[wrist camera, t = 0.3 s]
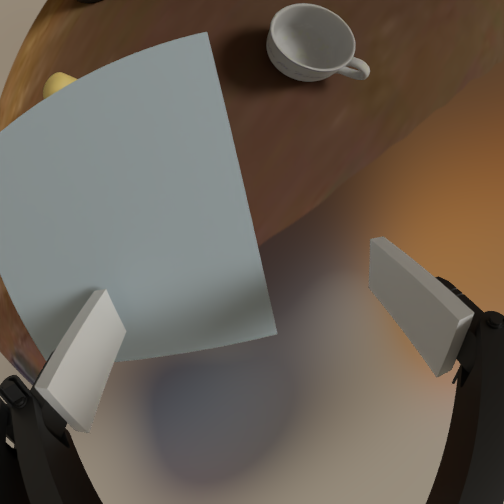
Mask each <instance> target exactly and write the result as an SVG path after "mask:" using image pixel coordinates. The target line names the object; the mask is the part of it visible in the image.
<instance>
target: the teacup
mask: <svg viewBox="0 0 504 504" xmlns="http://www.w3.org/2000/svg"><path fill="white" fill-rule="evenodd" d="M266 46H267V53H268V56H269V58H270V60H271V62H272V63H273V65H274V66H275V67H276V68H277V69H278V70H279V71H280V72H282V73H283V74H285V75H286V76H288V77H290V78H293V79H296V80H299V81H305V82H314V81H319V80H323V79H325V78H327V77H329V76H331V75H332V74H334V73H339V74H342V75H345V76H347V77H350V78H353V79H357V80H364V79H366V78H367V77H368V75H369V73H370V69H369V67H368V65H367V64H366V63H365V62H364V61H362V60H360V59H358V58H355V57H353V56H354V52H355V39H354V36H353V33H352V31H351V30H350V28H349V27H348V25H347V24H346V23H345V22H344V21H343V20H342V19H341V18H340V17H339V16H338V15H336V14H335V13H333V12H332V11H330V10H328V9H326V8H323V7H320V6H317V5H313V4H293V5H290V6H287V7H285V8H283V9H281V10H280V11H279V12H277V13H276V14H275V16H274V17H273V19H272V21H271V24H270V30H269V33H268V37H267V45H266ZM345 66H352V67H355V68H357V69H359V70H360V71H358V70H354V69H351V68H348V67H345Z"/></svg>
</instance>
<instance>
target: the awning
mask: <svg viewBox="0 0 504 504" xmlns="http://www.w3.org/2000/svg"><path fill="white" fill-rule="evenodd" d="M0 275H1V277H2V279H3V282H4V284H5V286H6V289H7V291H8V293H9V295H10V297H11V300H12V302H13V304H14V306H15V308H16V310H17V312H18V314H19V316H20V317H21V319H22V321H23V323H24V325H25V327H26V329H27V330H28V332H29V334H30V335H31V337H32V339H33V341H34V342H35V344H36V345H37V347H38V349H39V350H40V352H41V353H42V355H43V357H44V358H45V360H46V361H47V360H48V358H49V356H50V355H51V353H52V352H53V351H54V350H55V349H56V348H57V346H58V345H59V343H60V341H61V340H62V338H63V337H64V335H65V333H66V332H67V330H68V329H69V327H70V326H71V324H72V323H73V321H74V320H75V318H76V317H77V315H78V314H79V312H80V311H81V309H82V308H83V306H84V305H85V304H86V302H87V301H88V299H89V298H90V296H91V295H92V294H93V292H94V291H96V290H102V289H106V290H107V292H108V294H109V296H110V299H111V301H112V303H113V305H114V307H115V309H116V311H117V313H118V315H119V317H120V319H121V321H122V323H123V325H124V327H125V329H126V331H127V332H126V334H125V336H124V339H123V341H122V344H121V346H120V348H119V351H118V353H117V356H116V358H115V361H114V362H120V361H129V360H138V359H146V358H154V357H161V356H167V355H175V354H181V353H188V352H194V351H199V350H204V349H210V348H216V347H221V346H225V345H231V344H236V343H241V342H245V341H250V340H254V339H259V338H263V337H267V336H271V335H276V334H277V330H276V326H275V321H274V317H273V312H272V308H271V303H270V299H269V294H268V290H267V285H266V281H265V276H264V272H263V268H262V263H261V259H260V255H259V250H258V246H257V241H256V237H255V232H254V228H253V224H252V219H251V215H250V211H249V206H248V202H247V198H246V193H245V189H244V185H243V180H242V176H241V172H240V168H239V163H238V159H237V155H236V150H235V146H234V142H233V138H232V133H231V129H230V125H229V121H228V117H227V112H226V108H225V104H224V100H223V96H222V91H221V87H220V83H219V79H218V75H217V71H216V67H215V62H214V58H213V54H212V50H211V46H210V42H209V38H208V34H207V32H204V33H199V34H195V35H191V36H187V37H183V38H180V39H176V40H173V41H169V42H166V43H163V44H160V45H157V46H154V47H151V48H148V49H145V50H142V51H140V52H137V53H134V54H132V55H129V56H127V57H124V58H122V59H120V60H117V61H115V62H113V63H110V64H108V65H106V66H104V67H102V68H100V69H97V70H95V71H93V72H91V73H89V74H87V75H85V76H84V77H82V78H80V79H78V80H76V81H74V82H72V83H71V84H69V85H67V86H65V87H64V88H62V89H60V90H59V91H57V92H55V93H54V94H52V95H51V96H49V97H47V98H46V99H44V100H43V101H41V102H40V103H38V104H37V105H35V106H34V107H32V108H31V109H30V110H28V111H27V112H25V113H24V114H23V115H21V116H20V117H19V118H17V119H16V120H15V121H14V122H12V123H11V124H10V125H8V126H7V127H6V128H5V129H4V130H2V131H1V132H0Z"/></svg>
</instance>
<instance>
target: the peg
mask: <svg viewBox="0 0 504 504" xmlns="http://www.w3.org/2000/svg"><path fill="white" fill-rule="evenodd" d="M76 80H78V79H76V78H73V77H71V76H69V75H66V74H64V73H61V72H58V73H55V74H53V75H52V76H51V77H50V78H49V79H48V80H47V82H46V84H45V86H44V89H43V97H44V99H46V98H47V97H49V96H51V95H52V94H54V93H55V92H57V91H59V90H60V89H62V88H64V87H65V86H67V85H69V84H71V83H72V82H74V81H76Z"/></svg>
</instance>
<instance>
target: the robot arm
mask: <svg viewBox="0 0 504 504" xmlns="http://www.w3.org/2000/svg"><path fill="white" fill-rule="evenodd" d="M77 1H79V2H81V3H93V2H97V1H101V0H77ZM369 289H370V290H371V291H372V292H373V293H374V295H375V296H376V297H377V298H378V300H379V301H380V302H381V304H382V305H383V306H384V307H385V308H386V310H387V311H388V312H389V314H390V315H391V316H392V317H393V319H394V320H395V321H396V323H397V324H398V325H399V326H400V328H401V329H402V330H403V332H404V333H405V334H406V336H407V337H408V338H409V340H410V341H411V342H412V344H413V345H414V346H415V348H416V349H417V350H418V352H419V353H420V355H421V356H422V357H423V359H424V360H425V362H426V363H427V364H428V366H429V367H430V368H431V370H432V371H433V373H434V374H435V376H436V377H439V376H441V375H443V374H444V373H447V372H448V371H450V370H451V369H452V368H453V365H454V363H455V361H456V359H457V360H458V361H459V363H460V364H461V365H460V367H459V369H458V371H457V373H456V375H455V377H454V379H453V382H452V383H453V384H454V383H455V381H456V380H457V388H456V395H455V402H454V408H453V413H452V419H451V423H450V428H449V433H448V437H447V442H446V445H445V449H444V453H443V456H442V460H441V463H440V466H439V469H438V472H437V475H436V478H435V481H434V484H433V487H432V489H431V492H430V495H429V497H428V500H427V502H426V504H503V501H504V316H503V315H502V314H500V313H498V312H495V311H487V312H485V313H484V312H483V311H482V310H481V309H479V308H478V307H477V306H476V305H475V304H474V303H473V302H472V301H471V300H469V298H467V297H466V296H465V295H463V294H462V292H461V291H459V290H458V289H456V287H455V286H454V285H453V284H451V283H450V282H449V281H447V280H445V279H443V278H441V277H434V276H433V275H431V274H430V273H429V272H428V271H427V270H425V269H424V268H423V267H422V266H421V265H419V264H418V263H417V262H416V261H414V260H413V259H412V258H411V257H409V256H408V255H407V254H406V253H404V252H403V251H402V250H400V249H399V248H398V247H397V246H395V245H394V244H393V243H391V242H390V241H388V240H387V239H386V238H385V237H378V238H373V239H370V268H369ZM126 332H127V331H126V329H125V327H124V325H123V323H122V321H121V319H120V317H119V315H118V313H117V311H116V309H115V307H114V305H113V303H112V301H111V299H110V296H109V294H108V292H107V290H106V289H102V290H96V291H94V292H93V294H92V295H91V296H90V298H89V299H88V301H87V302H86V304H85V305H84V306H83V308H82V309H81V311H80V312H79V314H78V315H77V317H76V318H75V320H74V321H73V323H72V324H71V326H70V327H69V329H68V330H67V332H66V333H65V335H64V337H63V338H62V340H61V341H60V343H59V345H58V346H57V348H56V349H55V350H54V351H53V352H52V353H51V355H50V356H49V358H48V360H47V362H46V363H45V365H44V366H43V369H42V370H41V372H40V374H39V375H38V377H37V379H36V381H35V383H34V384H33V386H32V388H31V390H29V389H28V388H27V387H26V386H25V384H24V383H23V382H22V381H21V379H20V378H19V377H18V376H16V375H12V376H9V377H7V378H6V379H5V380H4V381H3V382H2V383H1V385H0V396H1V397H2V398H3V399H4V400H5V401H6V403H7V404H5V403H4V402H3V401H2V399H1V398H0V504H103V503H102V502H101V500H100V498H99V497H98V494H97V492H96V491H95V489H94V487H93V485H92V483H91V481H90V479H89V477H88V475H87V473H86V471H85V469H84V466H83V464H82V462H81V460H80V458H79V455H78V453H77V450H76V448H75V446H74V443H73V440H72V438H71V435H70V433H69V432H68V430H67V429H66V428H65V427H66V425H67V423H68V424H69V425H70V426H71V427H72V428H73V429H74V430H76V431H80V432H86V433H89V432H90V429H91V426H92V423H93V420H94V417H95V414H96V410H97V407H98V405H99V401H100V399H101V396H102V393H103V390H104V387H105V385H106V382H107V379H108V377H109V374H110V371H111V369H112V366H113V364H114V361H115V358H116V356H117V353H118V351H119V348H120V346H121V344H122V341H123V339H124V336H125V334H126ZM457 378H458V379H457ZM6 437H7V438H8V439H9V440H10V441H12V442H13V443H14V448H11V446H9V445H8V444H7V443H6Z"/></svg>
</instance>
